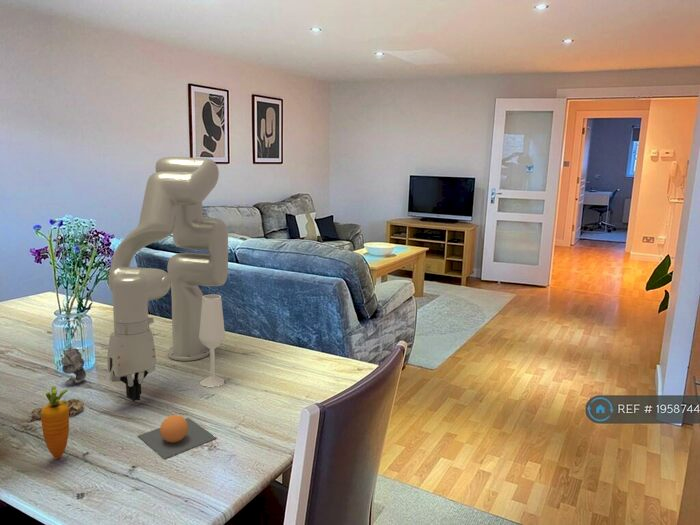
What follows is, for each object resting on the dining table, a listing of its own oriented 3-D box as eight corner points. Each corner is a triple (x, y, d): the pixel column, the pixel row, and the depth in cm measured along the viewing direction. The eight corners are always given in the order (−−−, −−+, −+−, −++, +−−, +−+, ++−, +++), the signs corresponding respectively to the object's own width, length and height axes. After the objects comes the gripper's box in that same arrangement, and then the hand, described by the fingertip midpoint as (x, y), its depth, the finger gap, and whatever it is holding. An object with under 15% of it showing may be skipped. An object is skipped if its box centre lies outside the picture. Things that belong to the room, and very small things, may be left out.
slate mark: (188, 418, 120) (188, 417, 120) (216, 438, 112) (216, 437, 112) (137, 436, 111) (137, 435, 111) (164, 459, 103) (164, 458, 103)
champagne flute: (230, 382, 140) (230, 297, 136) (208, 389, 135) (207, 301, 131) (216, 375, 144) (215, 292, 140) (194, 381, 140) (193, 296, 135)
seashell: (76, 388, 133) (74, 351, 131) (58, 385, 134) (56, 349, 132) (90, 380, 138) (88, 344, 136) (73, 377, 139) (71, 342, 137)
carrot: (51, 452, 104) (46, 382, 101) (76, 452, 104) (72, 382, 101) (38, 466, 99) (33, 393, 96) (65, 466, 99) (60, 393, 97)
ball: (185, 407, 111) (195, 431, 108) (178, 417, 114) (187, 441, 112) (159, 415, 107) (169, 440, 105) (153, 426, 110) (162, 450, 108)
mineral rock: (82, 393, 126) (83, 397, 119) (84, 410, 126) (85, 416, 119) (31, 402, 121) (29, 408, 114) (33, 421, 120) (31, 427, 113)
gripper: (154, 317, 130) (156, 385, 133) (92, 328, 119) (96, 402, 122) (168, 324, 125) (170, 395, 128) (105, 336, 114) (108, 414, 117)
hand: (134, 398), depth 125 cm, fingers closed
